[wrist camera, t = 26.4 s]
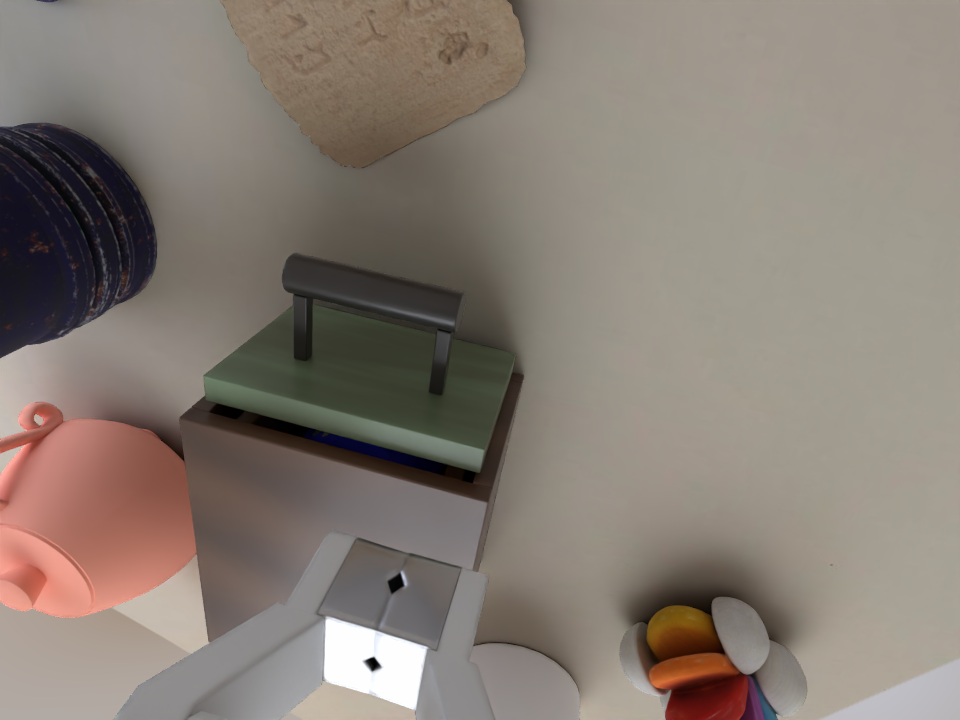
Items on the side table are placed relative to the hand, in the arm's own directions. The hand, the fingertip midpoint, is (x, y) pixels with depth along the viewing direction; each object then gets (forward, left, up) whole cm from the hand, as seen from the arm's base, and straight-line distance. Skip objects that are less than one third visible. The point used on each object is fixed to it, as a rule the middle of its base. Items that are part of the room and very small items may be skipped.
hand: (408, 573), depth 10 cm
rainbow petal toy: (+21, +16, -19) cm, 32 cm away
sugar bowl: (+20, -23, -19) cm, 36 cm away
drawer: (+9, -5, -17) cm, 20 cm away
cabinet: (+13, -6, -18) cm, 23 cm away
